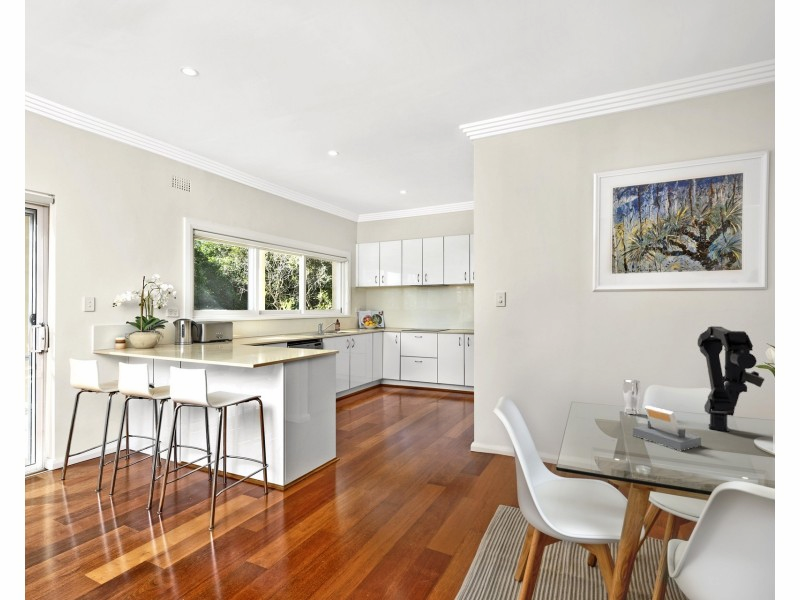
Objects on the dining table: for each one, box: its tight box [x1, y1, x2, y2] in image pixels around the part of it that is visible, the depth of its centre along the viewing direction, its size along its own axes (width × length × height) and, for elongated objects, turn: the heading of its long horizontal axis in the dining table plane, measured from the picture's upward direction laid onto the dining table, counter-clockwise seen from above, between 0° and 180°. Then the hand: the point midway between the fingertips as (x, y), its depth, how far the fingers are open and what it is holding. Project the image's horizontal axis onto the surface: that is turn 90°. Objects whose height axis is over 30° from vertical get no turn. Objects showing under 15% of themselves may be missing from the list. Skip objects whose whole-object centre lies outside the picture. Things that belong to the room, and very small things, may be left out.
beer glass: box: [622, 379, 641, 414], centre depth 197 cm, size 7×7×15 cm
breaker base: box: [632, 420, 702, 451], centre depth 161 cm, size 12×18×6 cm, turn 26°
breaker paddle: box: [644, 405, 680, 435], centre depth 160 cm, size 2×10×9 cm, turn 25°
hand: (734, 405), depth 161 cm, fingers closed
